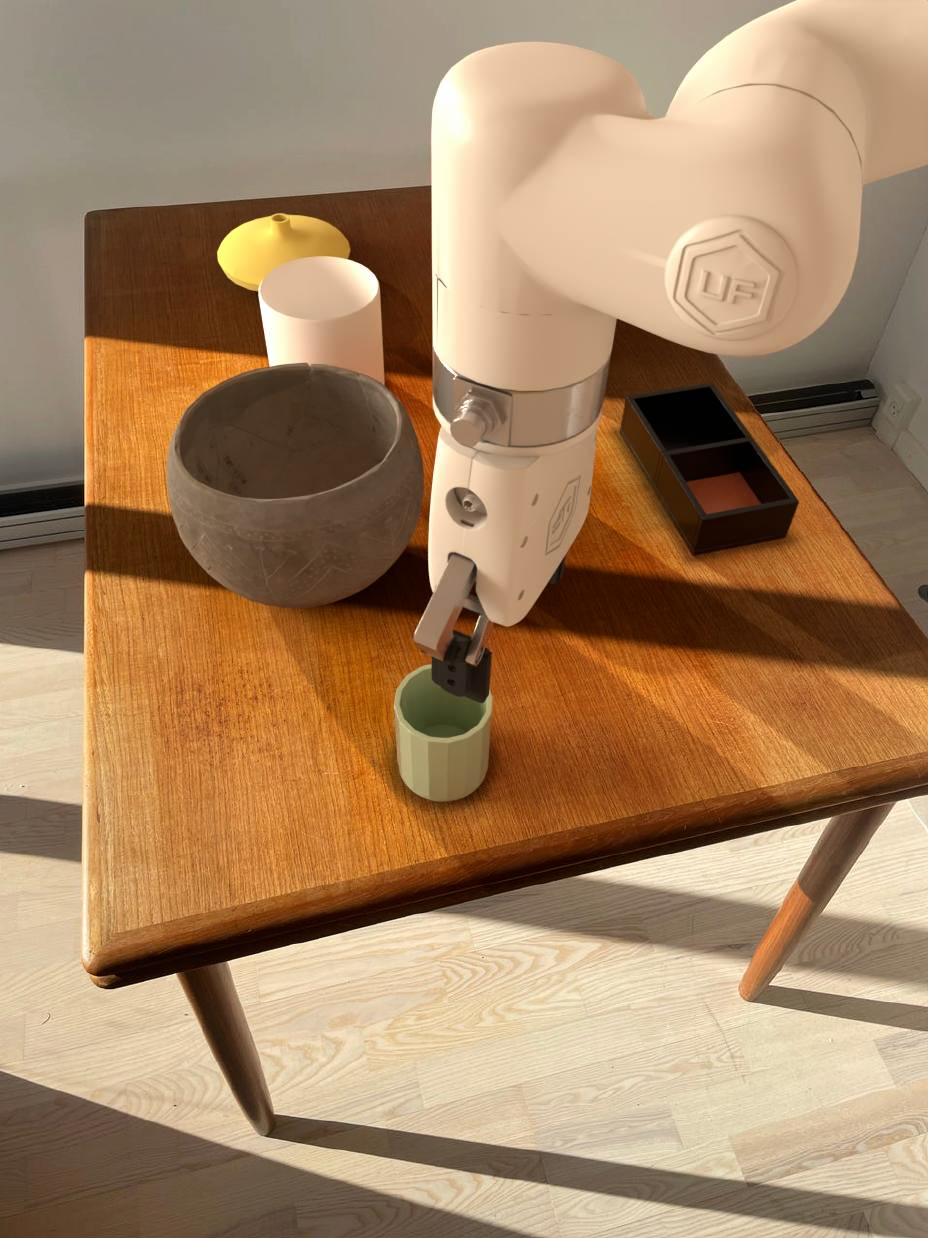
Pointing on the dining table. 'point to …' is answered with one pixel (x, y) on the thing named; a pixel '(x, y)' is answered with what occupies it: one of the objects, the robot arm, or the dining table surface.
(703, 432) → the black divided tray
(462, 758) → the sage cup
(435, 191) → the robot arm
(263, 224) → the vase
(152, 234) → the dining table surface
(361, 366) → the cup
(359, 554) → the bowl
